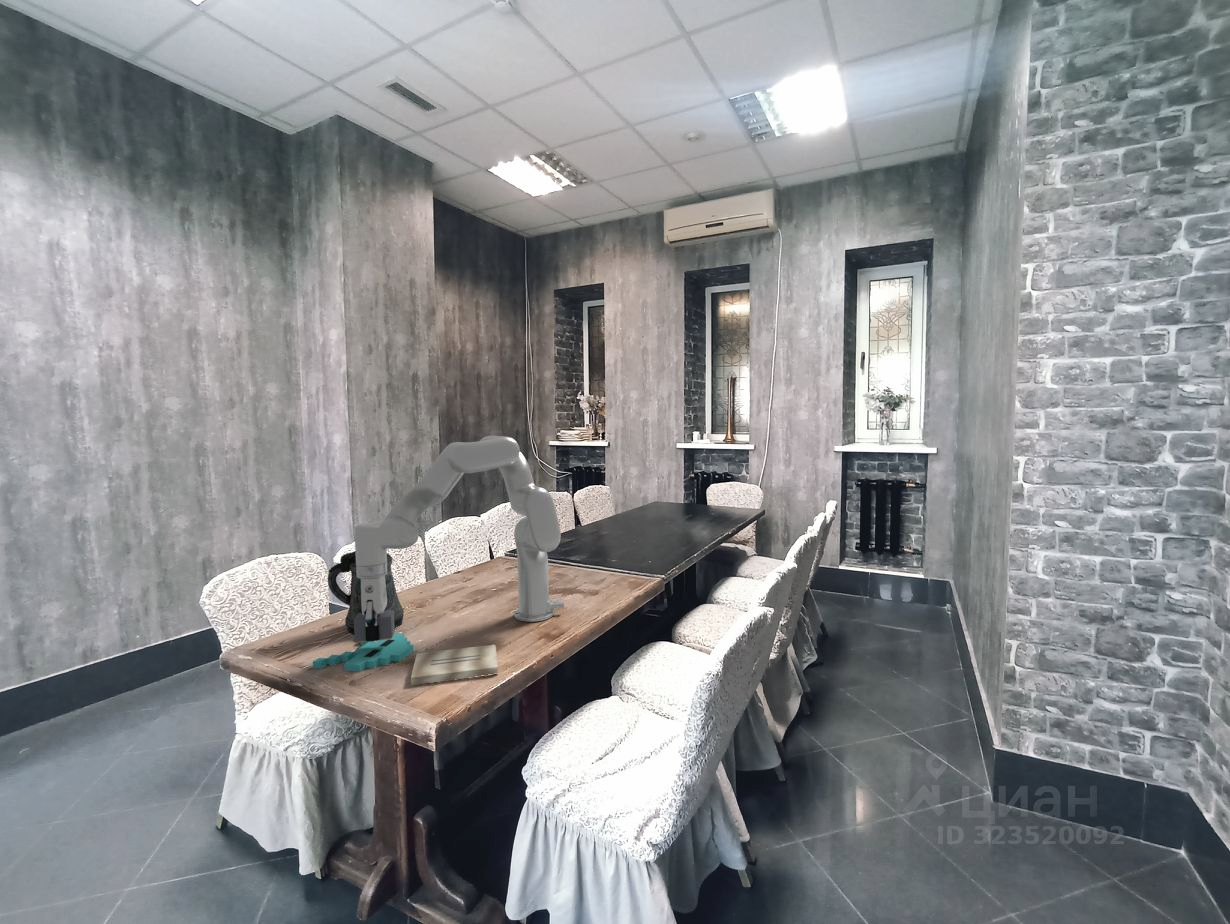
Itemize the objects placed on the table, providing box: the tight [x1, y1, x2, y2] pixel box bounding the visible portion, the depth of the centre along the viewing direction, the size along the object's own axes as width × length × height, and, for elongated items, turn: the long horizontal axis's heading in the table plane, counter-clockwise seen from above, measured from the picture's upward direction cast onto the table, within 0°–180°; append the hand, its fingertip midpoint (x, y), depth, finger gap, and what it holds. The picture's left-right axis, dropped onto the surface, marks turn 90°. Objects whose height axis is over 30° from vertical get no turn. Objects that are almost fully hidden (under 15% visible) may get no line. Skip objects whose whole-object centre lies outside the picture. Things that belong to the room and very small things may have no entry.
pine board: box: [410, 644, 499, 687], centre depth 138 cm, size 20×14×2 cm
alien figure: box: [312, 632, 414, 672], centre depth 148 cm, size 20×2×20 cm
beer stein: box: [327, 550, 405, 636], centre depth 166 cm, size 16×19×25 cm
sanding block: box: [353, 610, 396, 643], centre depth 146 cm, size 9×6×6 cm, turn 104°
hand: (374, 635), depth 146 cm, fingers closed on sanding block, 5 cm apart
